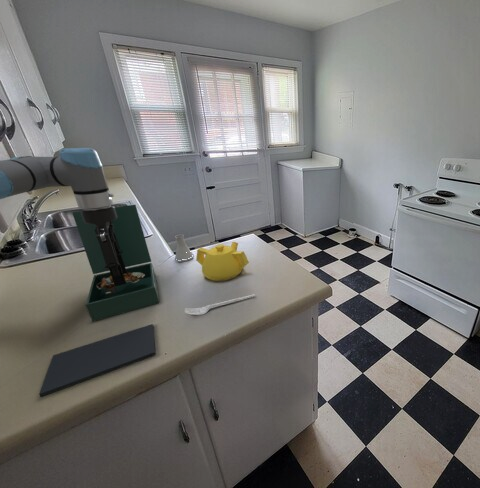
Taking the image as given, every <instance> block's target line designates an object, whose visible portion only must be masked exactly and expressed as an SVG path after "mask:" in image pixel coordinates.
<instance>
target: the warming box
mask: <svg viewBox="0 0 480 488" xmlns="http://www.w3.org/2000/svg"><path fill="white" fill-rule="evenodd" d="M125 268H126V271H127V273H143V274H145V276H143V278H142V279H139V280H138V281H137V282H135V283H132V282H127V283H126V284H124V285H119V286H115V288H116V289H117V291H116V292H113V293H111V294H105V293H106V292H110V291H111V289H106V288H102V289H99V288H97V284H98V283H100V282H102V278H109V277H110V276H111V273H110V271H106V272H101V273H97V274H93V278H92V281H91V284H90V288H89V291H88V294H87V298H86V301H85V307H86V310H87V312H88V315H89V317H90V319H91V321H92V322H96V321H101V320H103V319H106V318H111V317H114V316H117V315H121V314H124V313H128V312H131V311H135V310H138V309H142V308H146V307H150V306H152V305H156V304H159V303H160V298H159V291H158V282H157V276H156V273H155V269H154V266H153V263H152V262H148V263H143V264H138V265H134V266H129V267H125ZM127 273H126V274H127Z"/></svg>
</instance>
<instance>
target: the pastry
mask: <svg viewBox="0 0 480 488" xmlns="http://www.w3.org/2000/svg"><path fill="white" fill-rule="evenodd" d="M143 276H145V274H143V273H127V274H124V278H125V281H126V283H127V282H132V283H135V282H137V281H138V280H139V279H142V278H143ZM123 285H124V284H123ZM97 288H99V289H102V288H106V289H111V291H110V292H106V293H105V294H111V293H113V292H116V291H117V289H116V288H115V285H114V282H113V279H112V276H110V277H109V278H102V282H100V283H98V284H97Z"/></svg>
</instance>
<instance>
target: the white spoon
mask: <svg viewBox="0 0 480 488" xmlns="http://www.w3.org/2000/svg"><path fill="white" fill-rule="evenodd" d="M254 297H256V294H253V293H252V294H249V295H245V296H240V297H236V298H232V299H229V300H228V299H227V300H225V301H221V302H215V303H212V304H207V305H205V306H202V307H196V308H186V307H185V308H183V309H184V313H185V314H187V315H191V316H202V315H205V314H207V313H208V312H209V310H210V309H214V308H217V307H220V306H224V305H225V306H226V305H228V304H232V303H235V302H239V301H243V300H247V299H251V298H254Z"/></svg>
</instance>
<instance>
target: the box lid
mask: <svg viewBox="0 0 480 488" xmlns="http://www.w3.org/2000/svg"><path fill="white" fill-rule="evenodd" d="M114 207H115V210H116V213H117V219H116V220H114V221H111V222H112V225H113V226H114V232H115V235H116V238H117V241H118V244H119V247H120V250H123V253H121V256H122V259H123V262H124V265H125V268H130V267H134V266H139V265H144V264H148V263H152V258H151V255H150V251H149V247H148V244H147V240H146V237H145V233H144V230H143V227H142V222H141V219H140V216H139V212H138V209H137V205H136V204H129V205H120V206H114ZM80 211H81V210H80ZM80 211H72V212H71V214H72V216H73V220H74V222H75V225H76V228H77V230H78V234H79V236H80V240H81V242H82V245H83V248H84V251H85V255H86V257H87V261H88V263H89V266H90V269H91V272H92V275H98V274H102V273H107V272H110V270H109V268H105V266H106V263H105V260H104V257H103V253H102V250H101V247H100V244H99V242H98V239H97V238H96V233H95V229H96V225H95V224H86V223H85V222H84V220H83V218H82V215H81V212H80ZM119 255H120V254H119Z"/></svg>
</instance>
